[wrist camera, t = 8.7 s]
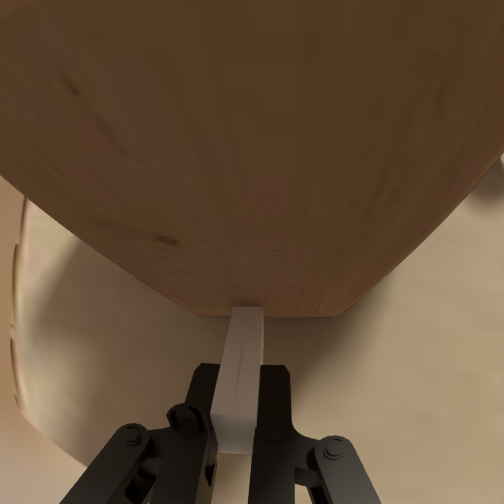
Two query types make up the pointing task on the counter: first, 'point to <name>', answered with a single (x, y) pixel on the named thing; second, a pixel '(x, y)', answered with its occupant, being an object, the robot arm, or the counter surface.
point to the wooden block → (251, 136)
